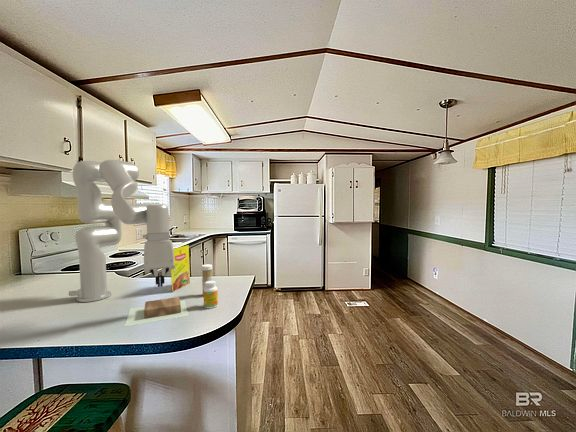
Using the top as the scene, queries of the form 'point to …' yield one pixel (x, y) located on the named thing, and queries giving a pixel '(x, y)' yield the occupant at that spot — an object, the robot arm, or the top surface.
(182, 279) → the food package
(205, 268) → the sprinkles bottle
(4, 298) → the top surface
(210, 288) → the supplement bottle
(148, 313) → the walnut plank
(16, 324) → the top surface
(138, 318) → the mat
